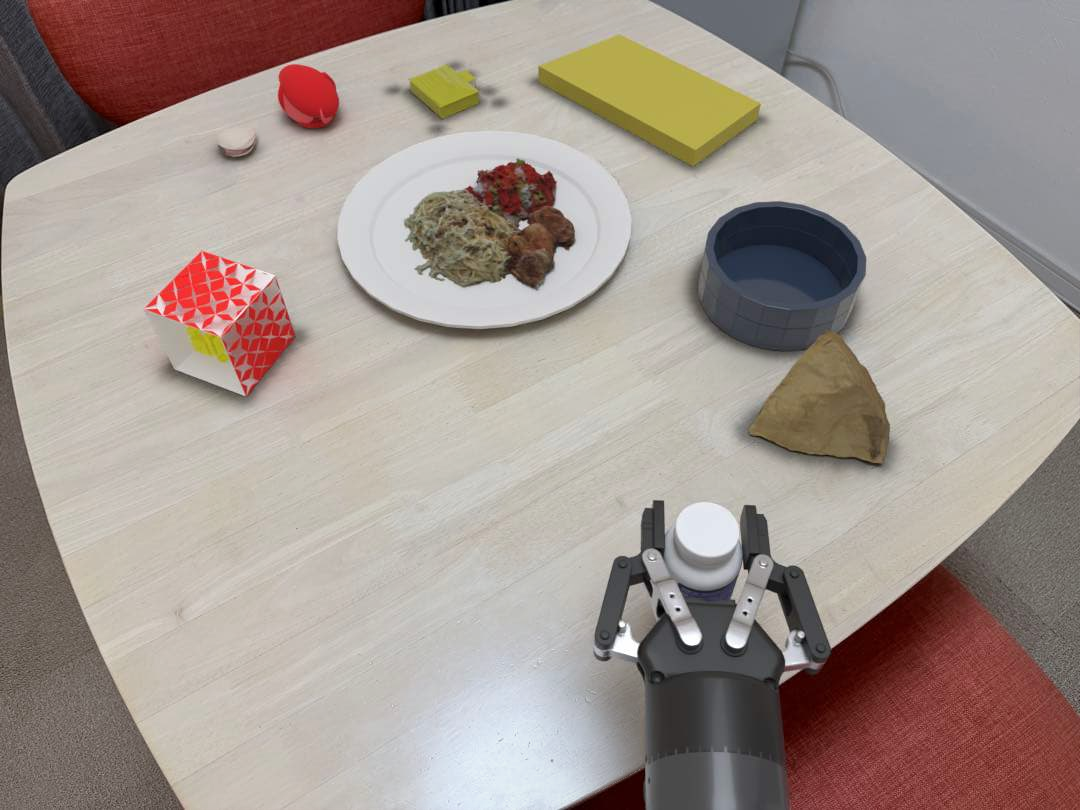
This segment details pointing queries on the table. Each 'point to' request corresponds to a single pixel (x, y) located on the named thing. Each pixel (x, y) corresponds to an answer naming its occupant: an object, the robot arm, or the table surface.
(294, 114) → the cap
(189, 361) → the red patterned cube
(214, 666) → the table surface
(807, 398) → the rock
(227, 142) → the macaroon
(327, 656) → the table surface
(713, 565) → the pill bottle
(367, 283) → the plated food
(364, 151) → the table surface
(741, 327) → the pot
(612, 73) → the flat olive board
